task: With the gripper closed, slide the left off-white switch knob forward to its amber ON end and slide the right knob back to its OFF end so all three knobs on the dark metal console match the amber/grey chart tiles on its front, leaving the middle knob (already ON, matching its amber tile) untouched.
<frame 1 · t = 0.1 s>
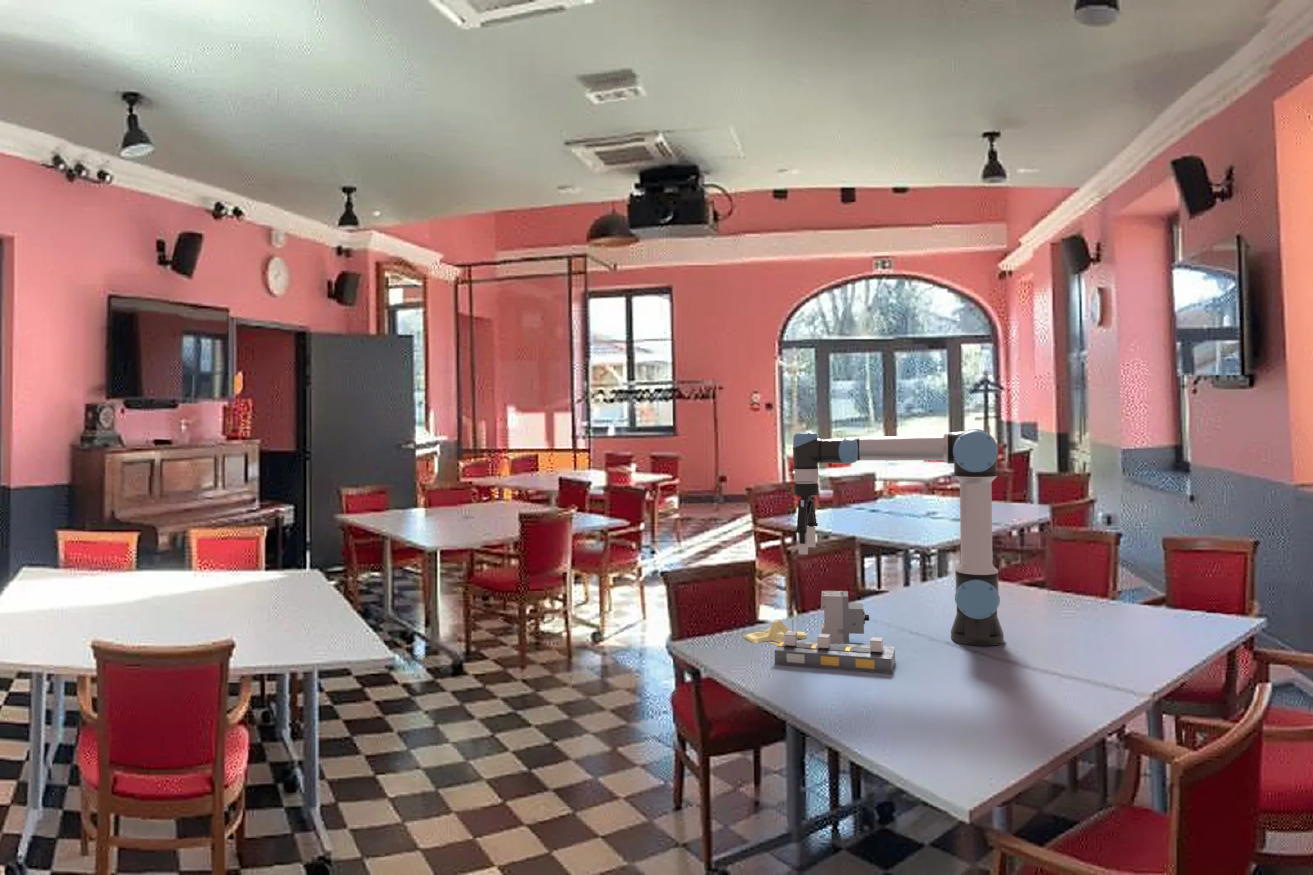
hand: (807, 550, 262), 28 cm above the table, fingers open, 13 cm apart
circuit breaker: (845, 642, 259), on the table
knob C: (790, 638, 243), point 6 cm above the table, slide at 5.5 cm
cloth: (780, 641, 265), on the table
console: (835, 662, 239), on the table
knob A: (876, 644, 234), point 6 cm above the table, slide at 0.5 cm
knob B: (823, 640, 239), point 6 cm above the table, slide at 5.5 cm
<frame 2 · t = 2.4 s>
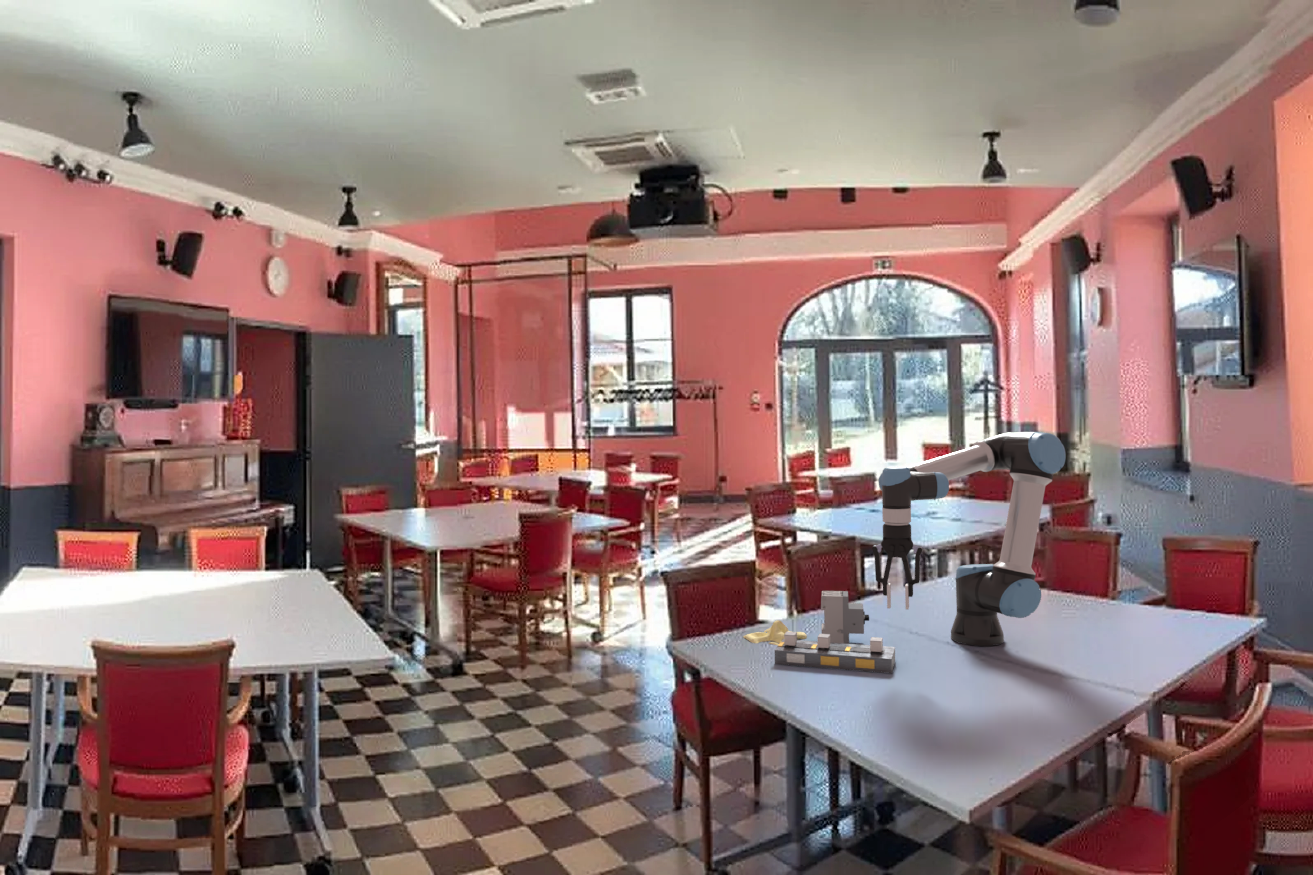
hand: (898, 607, 232), 17 cm above the table, fingers open, 4 cm apart
nothing on the table moved.
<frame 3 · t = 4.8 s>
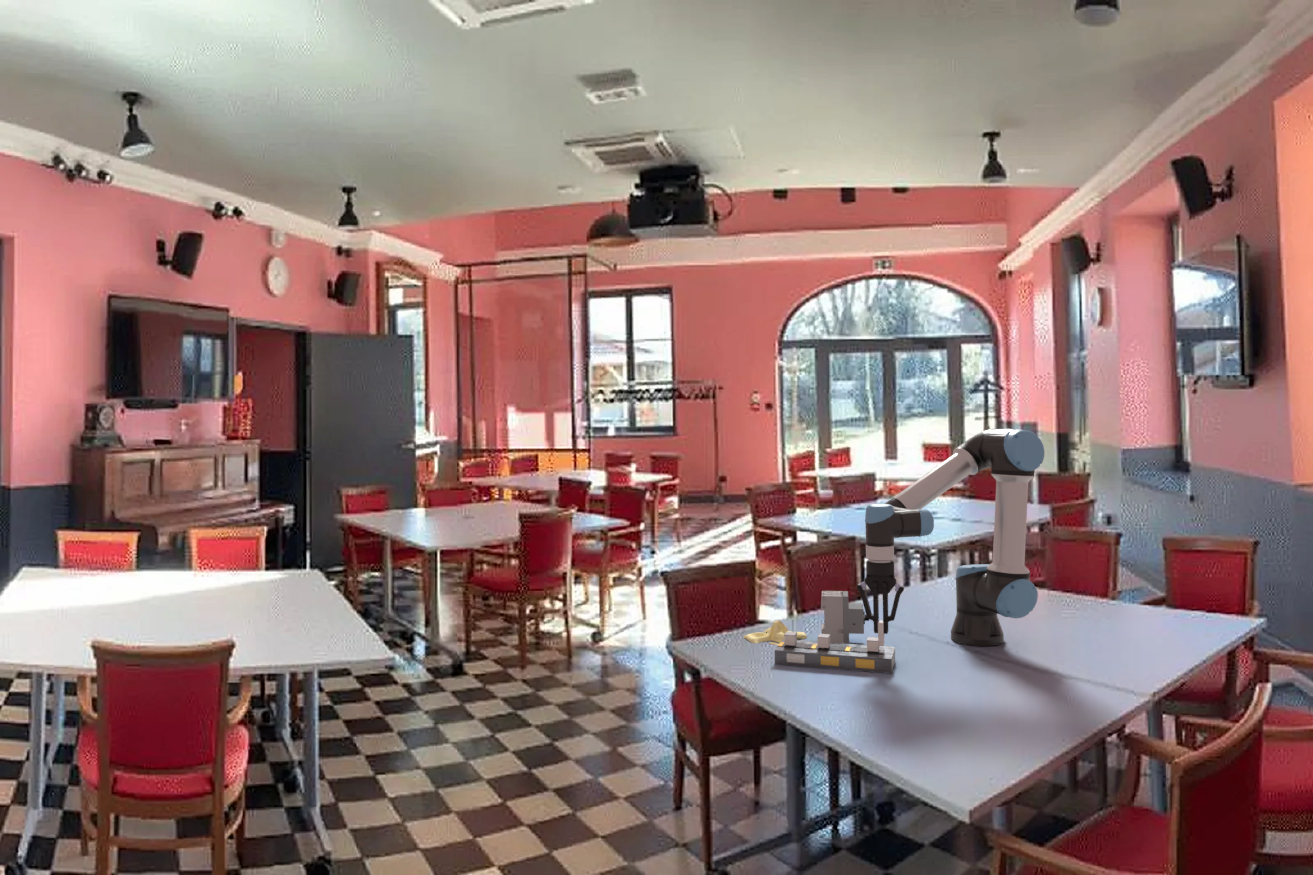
hand: (881, 644, 234), 6 cm above the table, fingers closed
knob A: (873, 644, 235), point 6 cm above the table, slide at 1.4 cm, touching gripper
everything else where it was.
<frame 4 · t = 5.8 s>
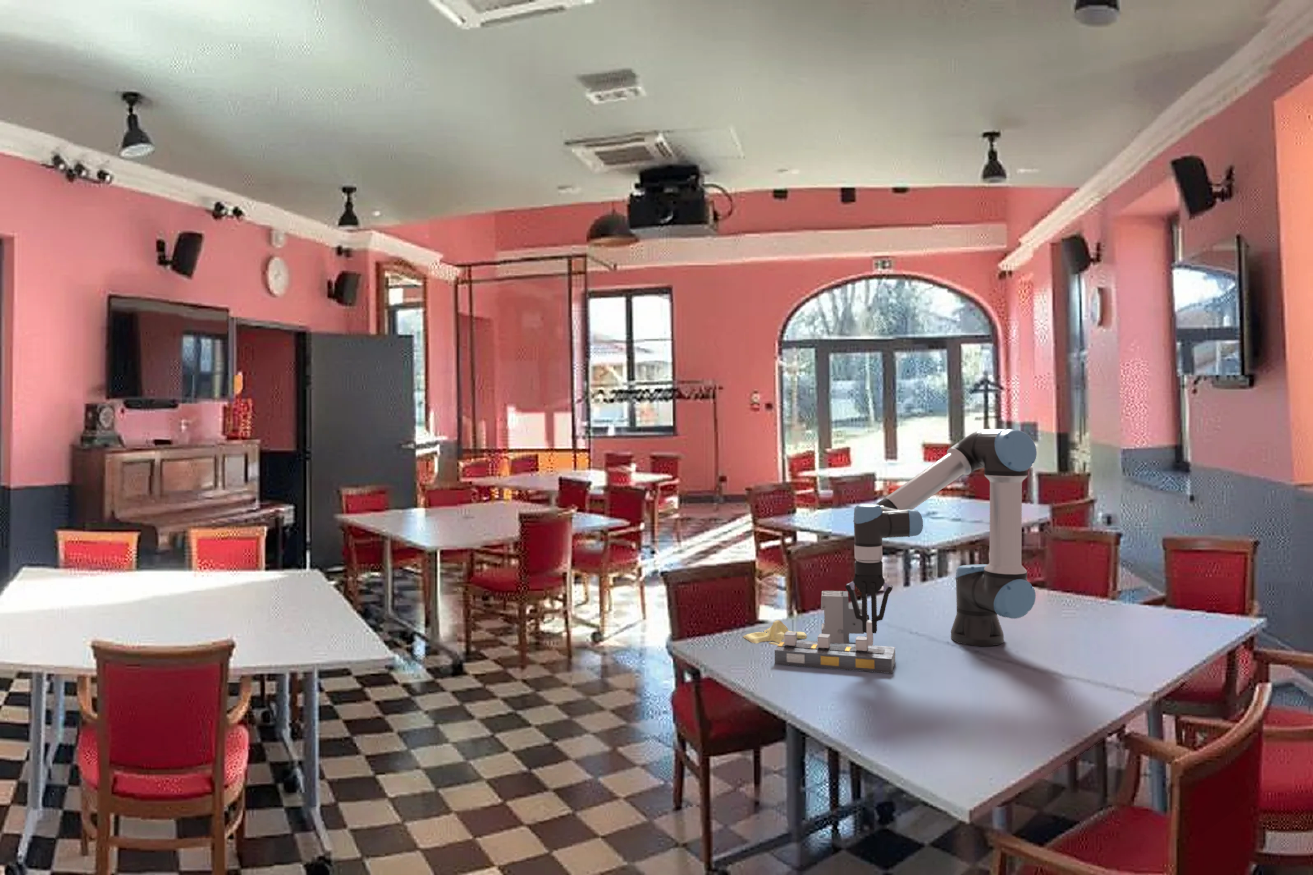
hand: (870, 644, 235), 6 cm above the table, fingers closed
knob A: (861, 643, 236), point 6 cm above the table, slide at 4.5 cm, touching gripper
everything else where it was.
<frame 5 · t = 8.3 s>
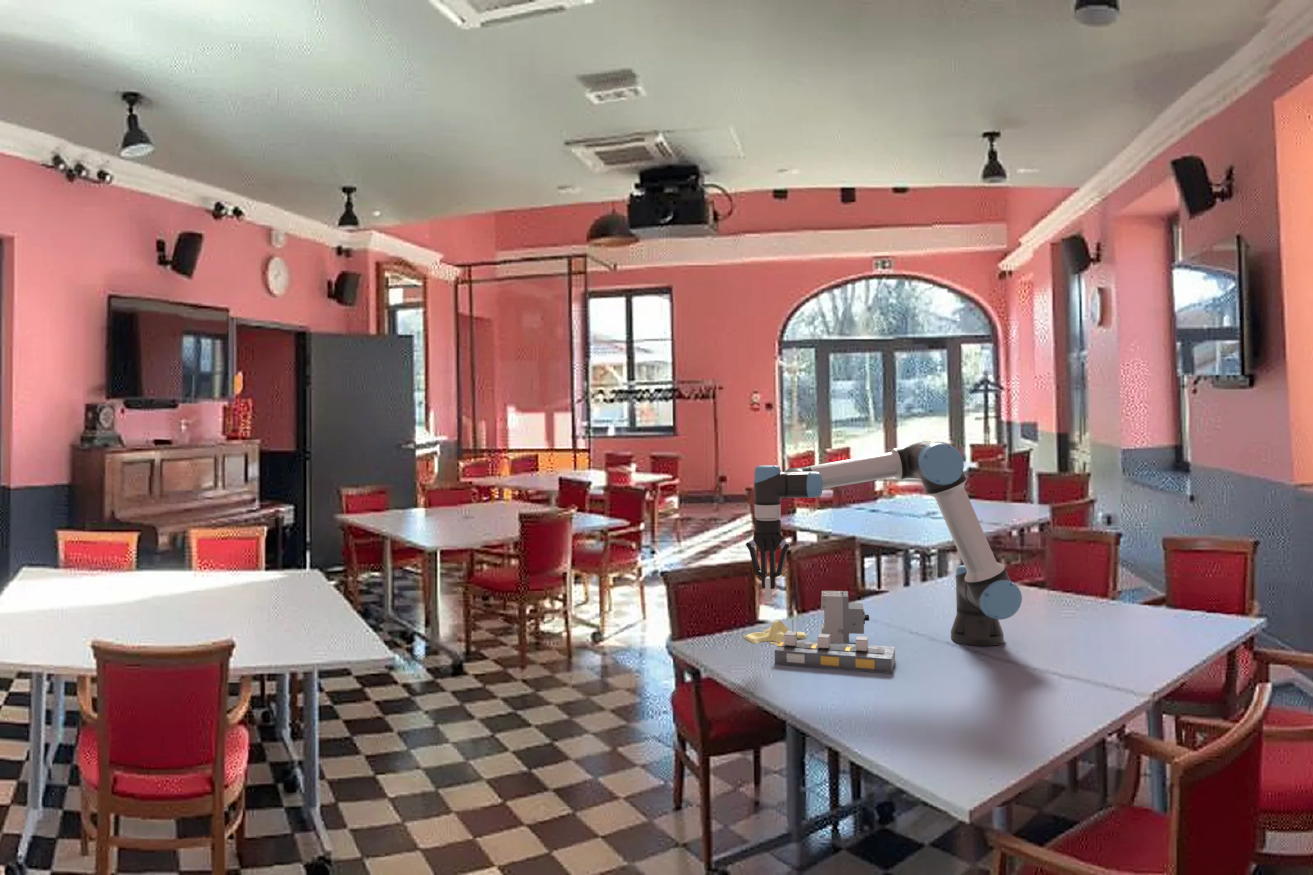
hand: (768, 599, 244), 17 cm above the table, fingers closed
knob A: (861, 643, 236), point 6 cm above the table, slide at 4.5 cm
everything else where it was.
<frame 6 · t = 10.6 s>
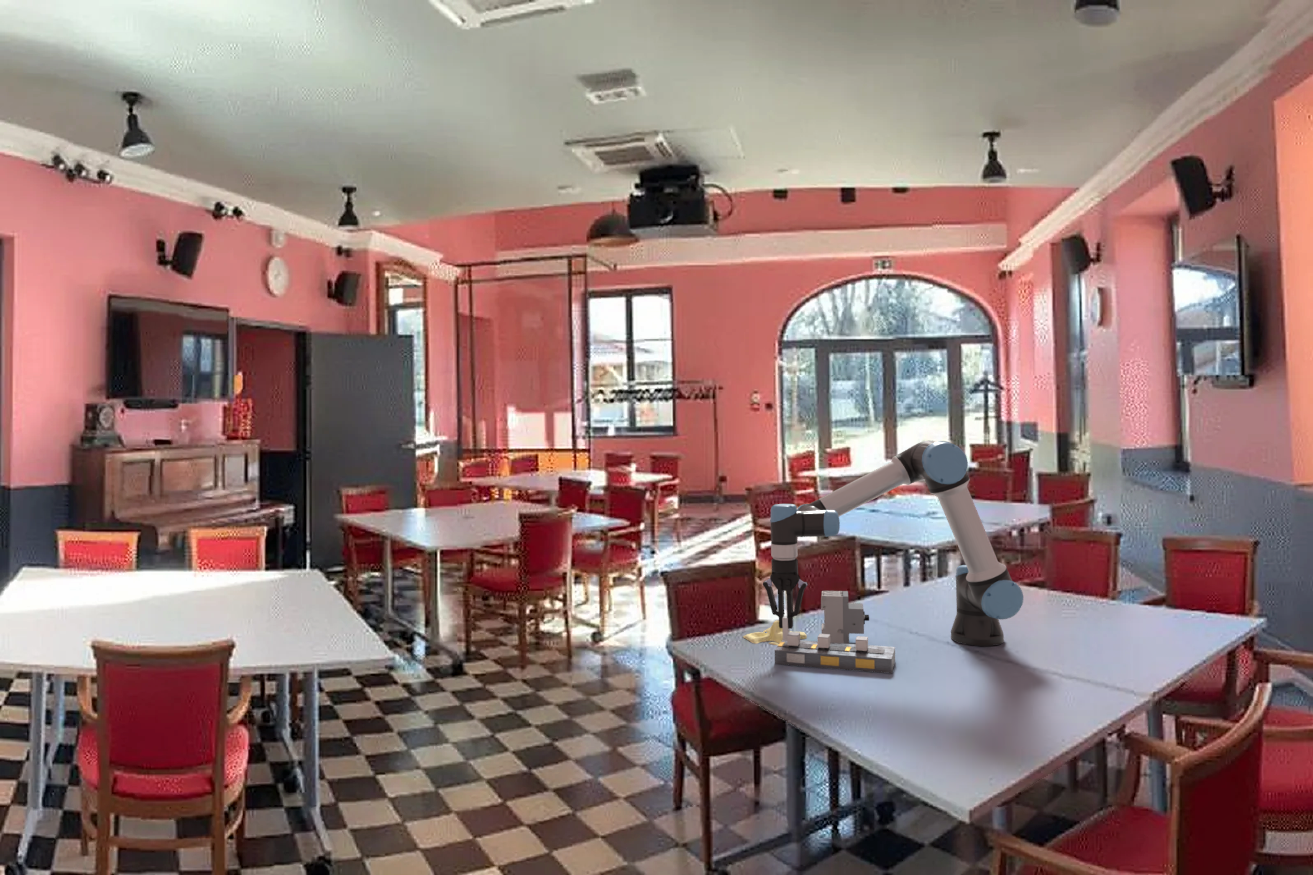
hand: (786, 639, 243), 6 cm above the table, fingers closed
knob C: (793, 638, 242), point 6 cm above the table, slide at 4.6 cm, touching gripper
everything else where it was.
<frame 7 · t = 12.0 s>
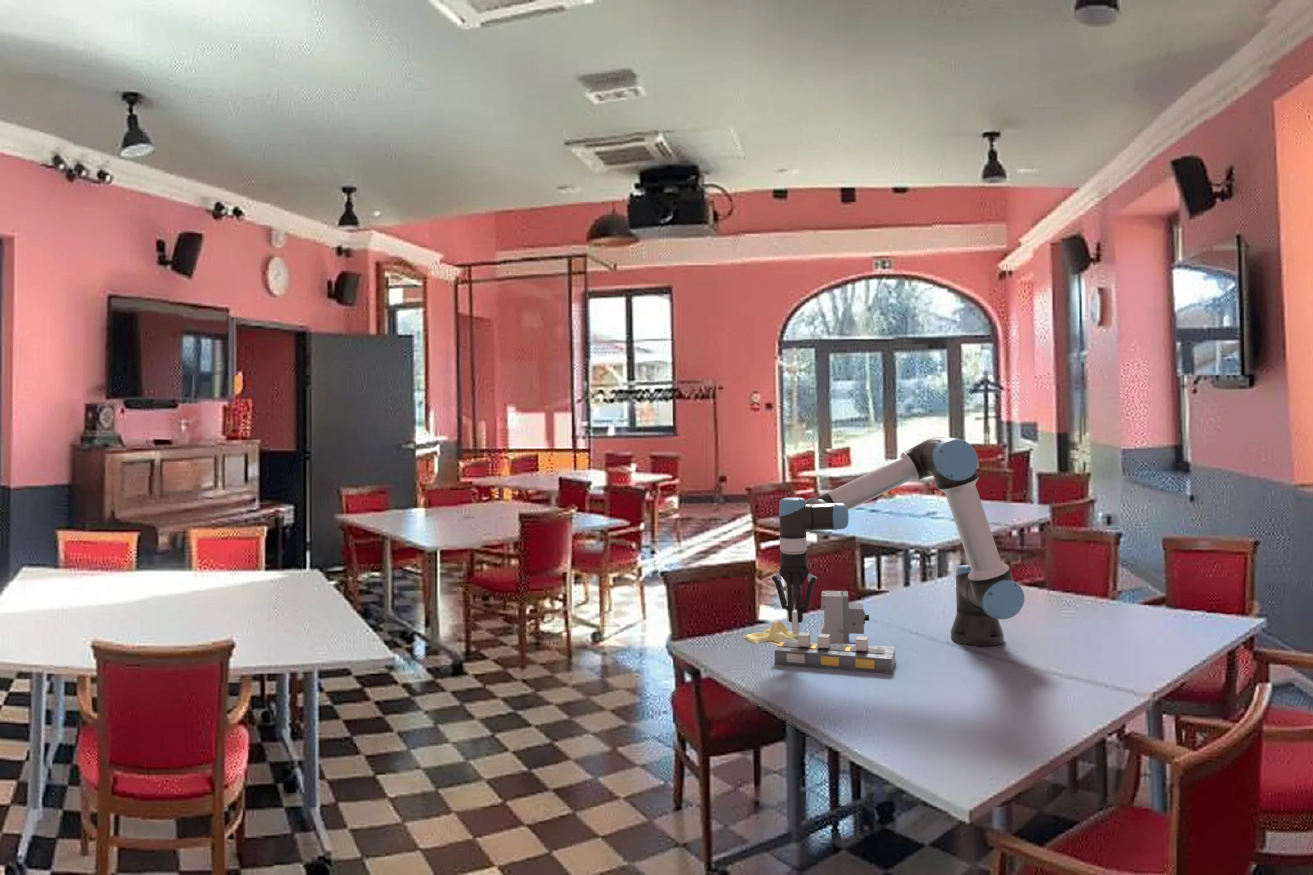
hand: (796, 633, 242), 8 cm above the table, fingers closed
knob C: (803, 639, 241), point 6 cm above the table, slide at 1.7 cm
everything else where it was.
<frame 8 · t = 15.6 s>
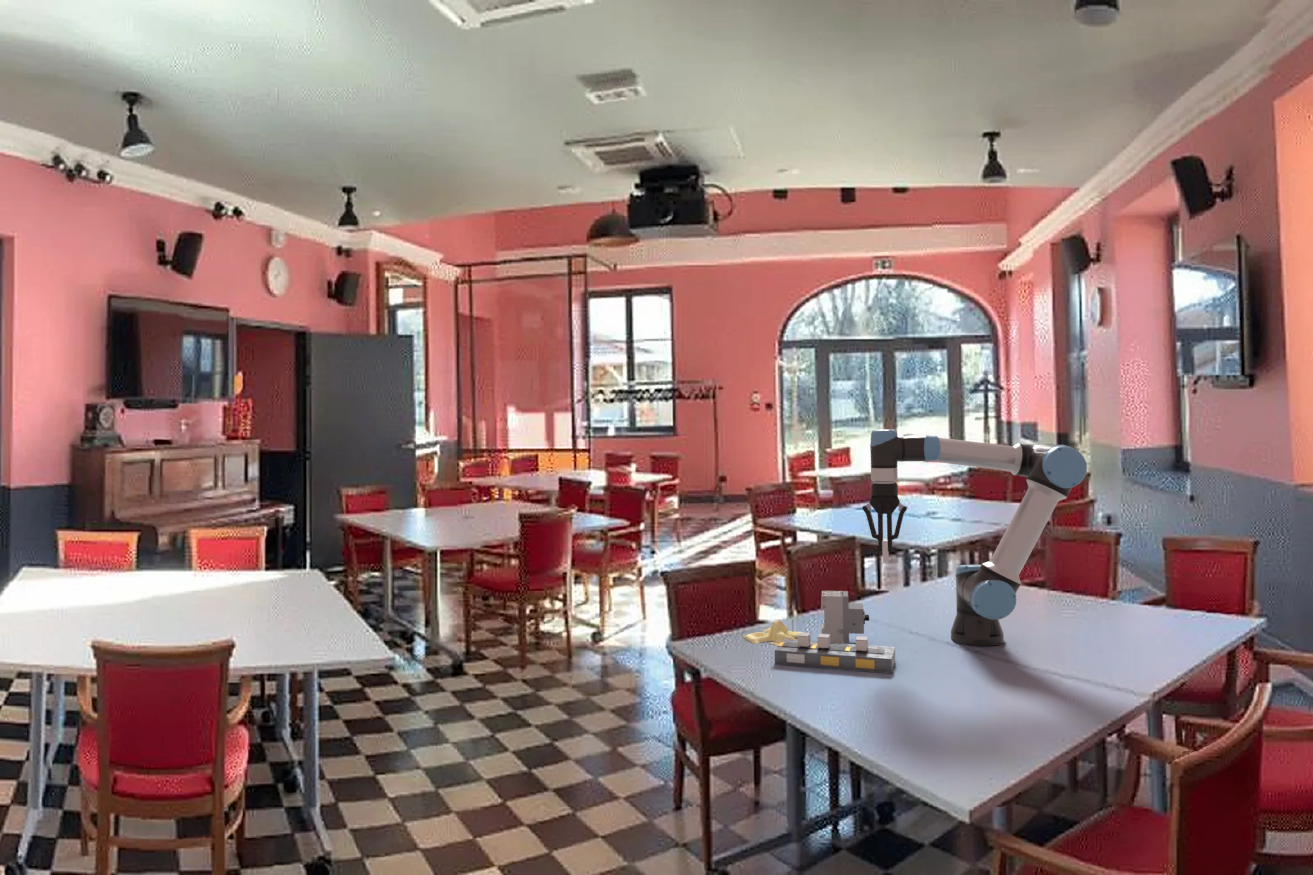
hand: (885, 562, 247), 26 cm above the table, fingers closed
nothing on the table moved.
at the end: knob A slide at 4.5 cm; knob B slide at 5.5 cm; knob C slide at 1.7 cm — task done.
